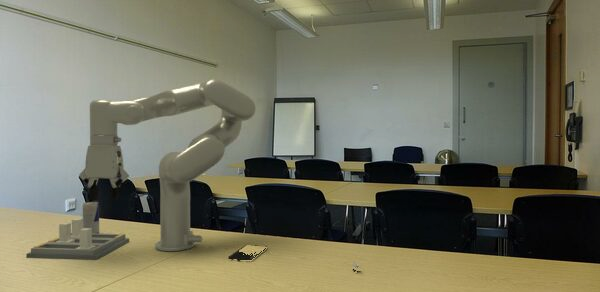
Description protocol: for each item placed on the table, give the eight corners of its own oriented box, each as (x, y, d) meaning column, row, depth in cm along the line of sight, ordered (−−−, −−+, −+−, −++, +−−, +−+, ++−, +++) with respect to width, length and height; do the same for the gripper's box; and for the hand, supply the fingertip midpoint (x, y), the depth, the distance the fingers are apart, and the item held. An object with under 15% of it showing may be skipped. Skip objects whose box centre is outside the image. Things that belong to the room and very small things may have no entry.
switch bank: (129, 241, 140) (129, 233, 140) (96, 259, 120) (96, 250, 120) (68, 240, 142) (68, 231, 142) (26, 257, 122) (26, 247, 122)
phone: (268, 246, 134) (250, 259, 119) (268, 249, 134) (250, 263, 119) (246, 244, 136) (226, 257, 121) (246, 247, 136) (226, 261, 121)
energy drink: (102, 233, 151) (102, 202, 151) (93, 237, 146) (93, 204, 145) (88, 233, 151) (88, 201, 151) (79, 237, 146) (79, 204, 146)
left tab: (95, 250, 126) (95, 228, 126) (89, 253, 122) (89, 230, 122) (82, 249, 126) (82, 227, 126) (75, 253, 123) (75, 230, 122)
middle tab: (74, 243, 133) (74, 222, 133) (68, 246, 130) (68, 224, 129) (62, 243, 133) (61, 222, 133) (55, 246, 130) (55, 224, 130)
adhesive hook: (350, 272, 113) (350, 261, 113) (358, 271, 114) (358, 260, 114) (355, 275, 110) (355, 264, 110) (364, 274, 111) (364, 263, 111)
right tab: (86, 238, 139) (86, 218, 139) (80, 241, 136) (80, 220, 136) (74, 238, 140) (74, 218, 140) (68, 240, 136) (67, 220, 136)
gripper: (137, 141, 126) (137, 198, 127) (84, 140, 127) (84, 197, 128) (125, 141, 118) (125, 202, 119) (69, 141, 120) (69, 201, 120)
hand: (104, 199), depth 123 cm, fingers open, 5 cm apart
